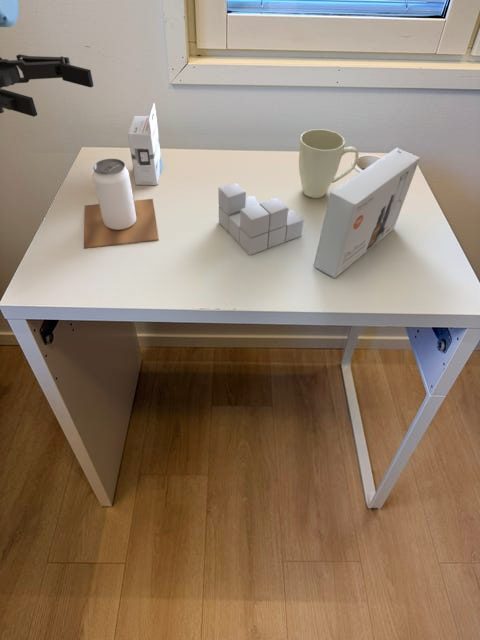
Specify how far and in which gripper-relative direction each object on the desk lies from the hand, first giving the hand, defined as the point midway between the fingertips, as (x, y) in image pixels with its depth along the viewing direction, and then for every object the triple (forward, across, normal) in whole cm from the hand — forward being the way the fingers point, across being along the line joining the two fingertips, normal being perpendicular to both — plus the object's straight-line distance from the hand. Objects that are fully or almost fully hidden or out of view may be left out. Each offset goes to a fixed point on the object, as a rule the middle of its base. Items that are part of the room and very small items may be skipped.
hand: (63, 92), depth 78 cm
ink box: (+1, -18, -24) cm, 30 cm away
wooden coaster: (+7, 0, -24) cm, 25 cm away
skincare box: (+51, -16, -24) cm, 58 cm away
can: (+7, 0, -24) cm, 25 cm away
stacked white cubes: (+32, -12, -24) cm, 42 cm away
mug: (+37, -31, -24) cm, 54 cm away
